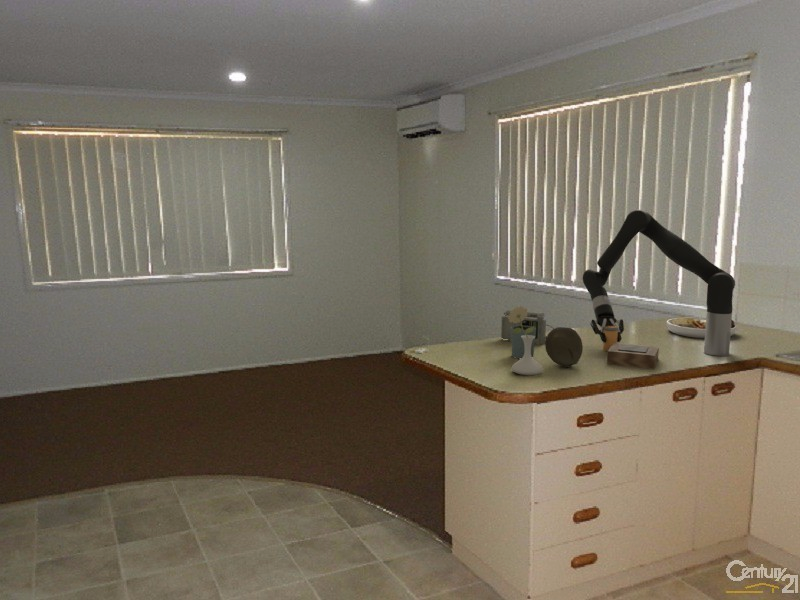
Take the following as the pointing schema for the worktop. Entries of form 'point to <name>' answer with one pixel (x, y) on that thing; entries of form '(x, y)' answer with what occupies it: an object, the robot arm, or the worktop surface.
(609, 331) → the amber jar
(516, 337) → the drinking glass
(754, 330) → the worktop surface
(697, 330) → the bowl
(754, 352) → the worktop surface
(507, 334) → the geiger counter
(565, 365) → the coconut
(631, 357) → the stand
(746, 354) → the worktop surface
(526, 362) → the flower in vase
